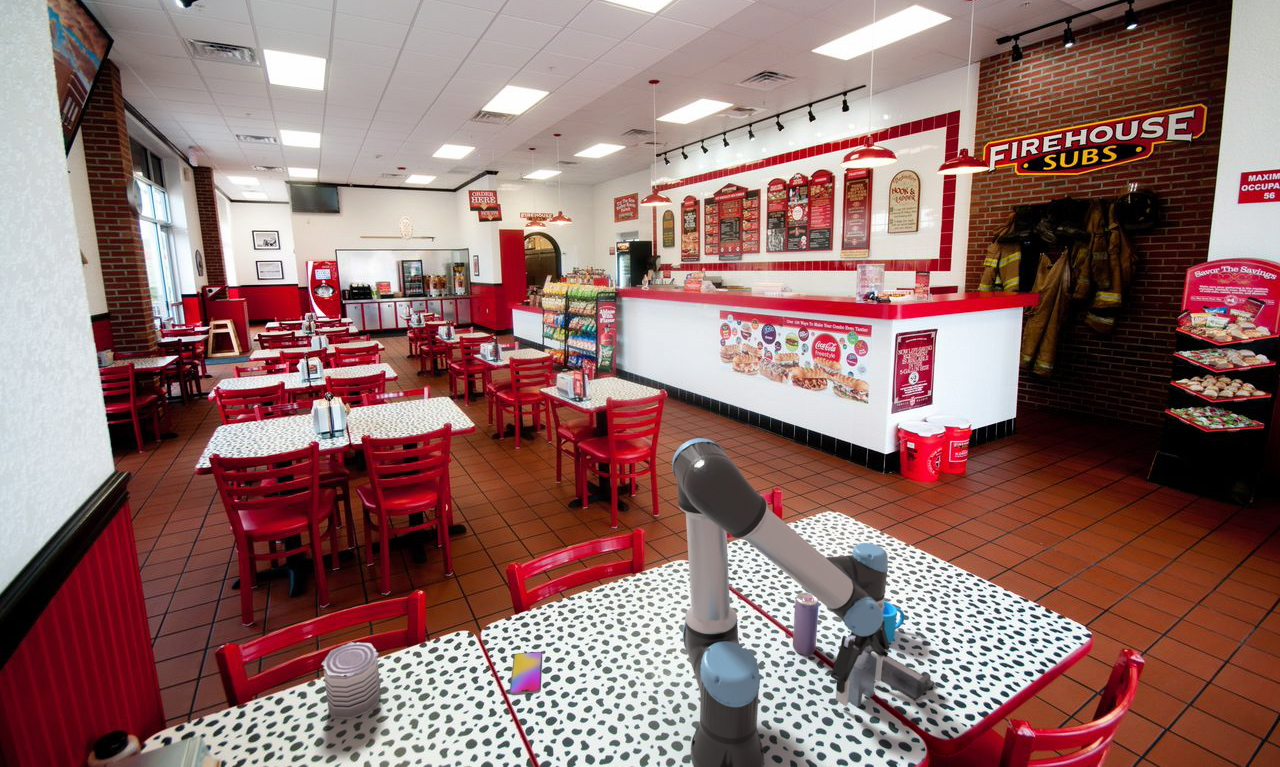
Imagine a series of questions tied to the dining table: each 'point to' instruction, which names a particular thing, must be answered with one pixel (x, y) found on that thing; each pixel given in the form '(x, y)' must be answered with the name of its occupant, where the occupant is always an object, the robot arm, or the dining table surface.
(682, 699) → the dining table surface
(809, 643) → the beverage can
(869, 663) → the stepped metal block
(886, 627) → the mug
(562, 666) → the dining table surface
